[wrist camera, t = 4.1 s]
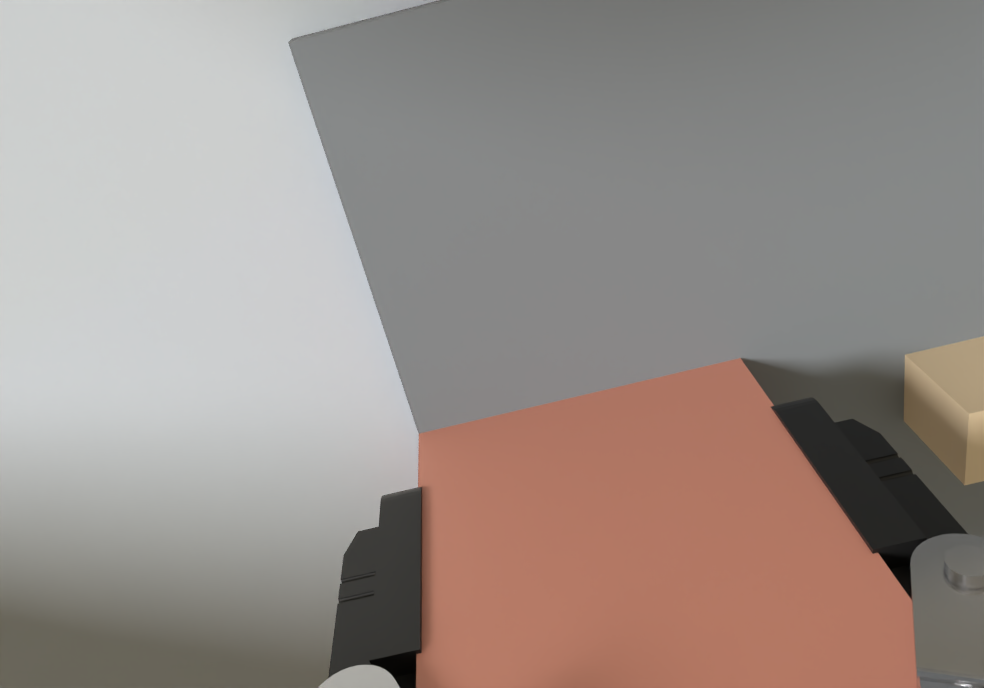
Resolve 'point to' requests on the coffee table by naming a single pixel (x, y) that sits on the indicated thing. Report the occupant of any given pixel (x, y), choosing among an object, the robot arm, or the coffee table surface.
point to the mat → (674, 204)
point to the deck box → (648, 550)
